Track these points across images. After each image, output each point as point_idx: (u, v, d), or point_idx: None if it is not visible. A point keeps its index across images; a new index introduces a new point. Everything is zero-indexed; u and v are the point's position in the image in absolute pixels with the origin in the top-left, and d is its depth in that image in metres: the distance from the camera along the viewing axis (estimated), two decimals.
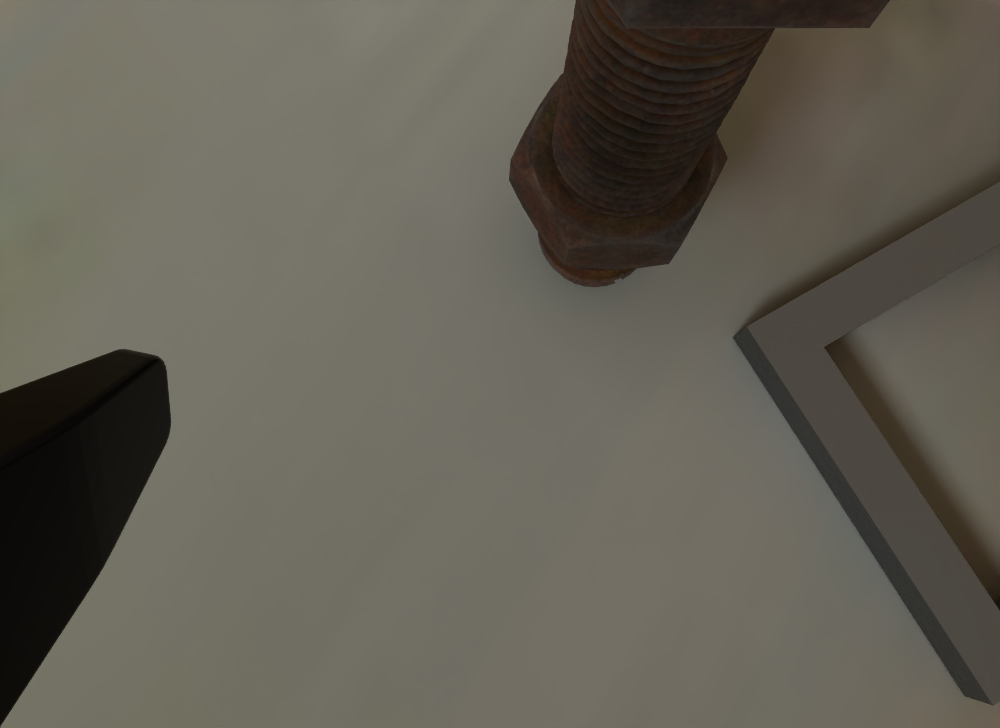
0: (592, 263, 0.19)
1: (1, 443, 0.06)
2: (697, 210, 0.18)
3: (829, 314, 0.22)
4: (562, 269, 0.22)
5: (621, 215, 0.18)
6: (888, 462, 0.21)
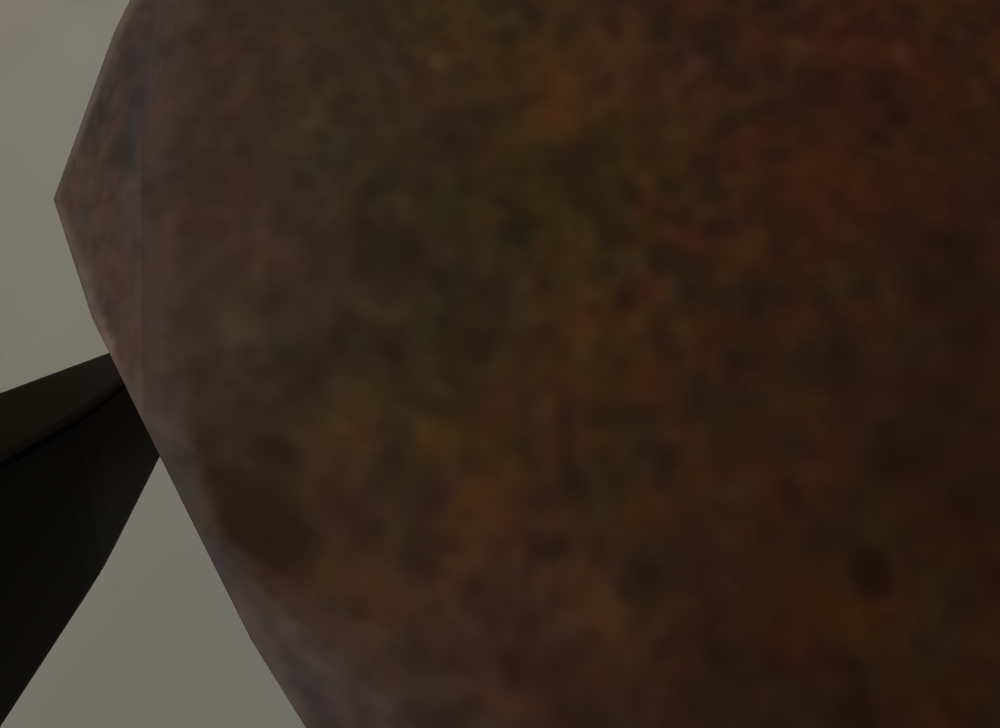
0: None
1: (1, 443, 0.06)
2: None
3: None
4: None
5: None
6: None
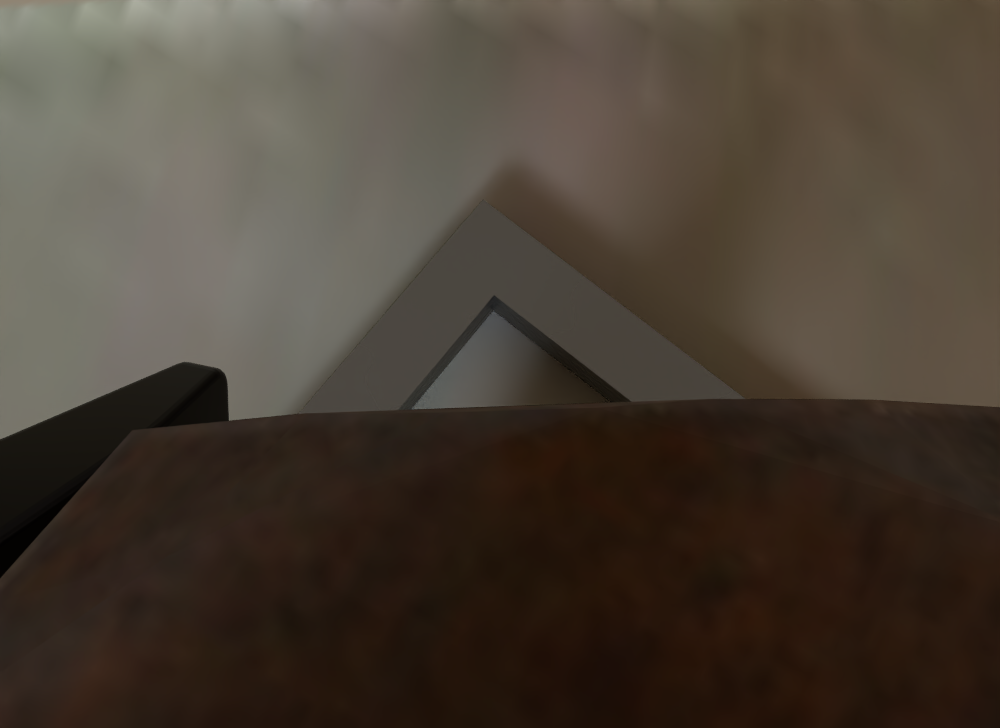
0: None
1: (82, 460, 0.06)
2: None
3: None
4: None
5: None
6: None
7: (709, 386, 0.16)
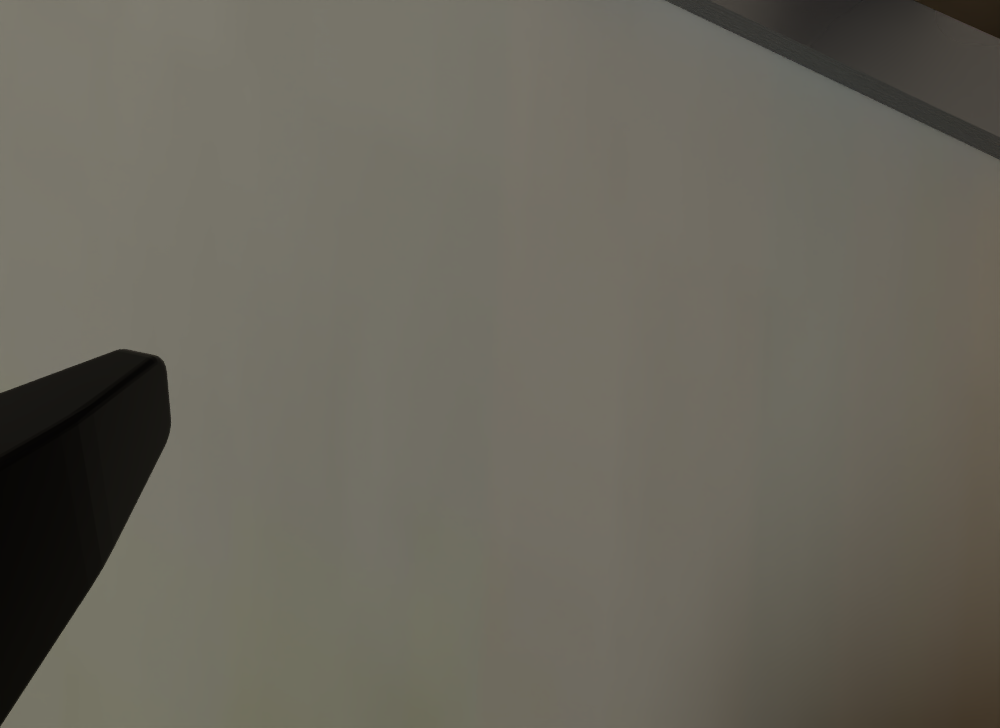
0: None
1: (1, 443, 0.06)
2: None
3: None
4: None
5: None
6: None
7: None
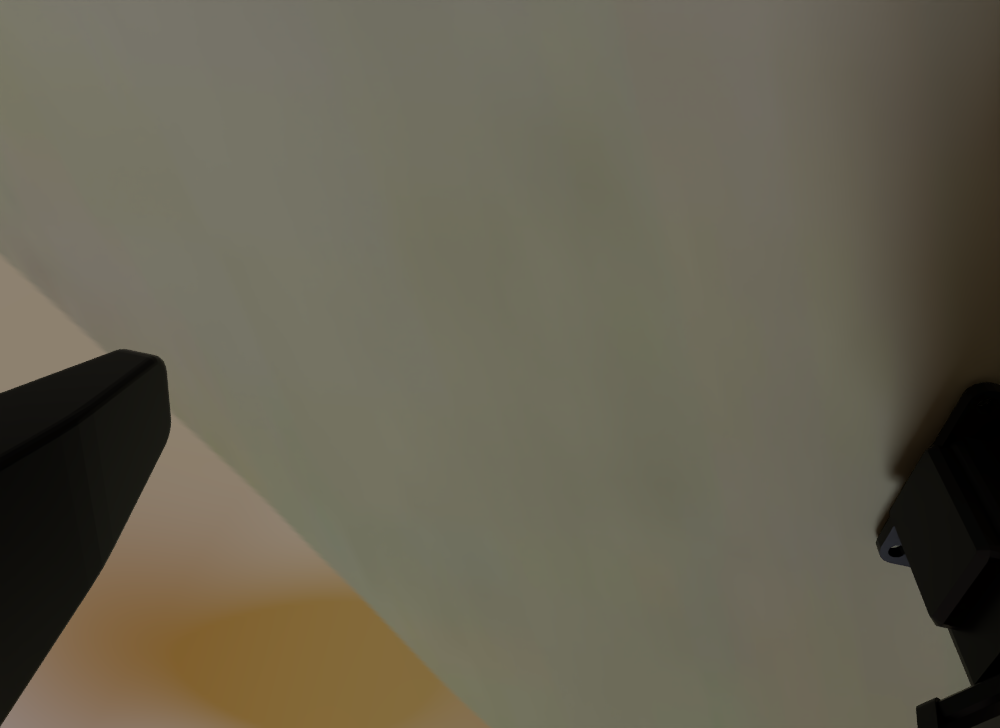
0: None
1: (1, 443, 0.06)
2: None
3: None
4: None
5: None
6: None
7: None
